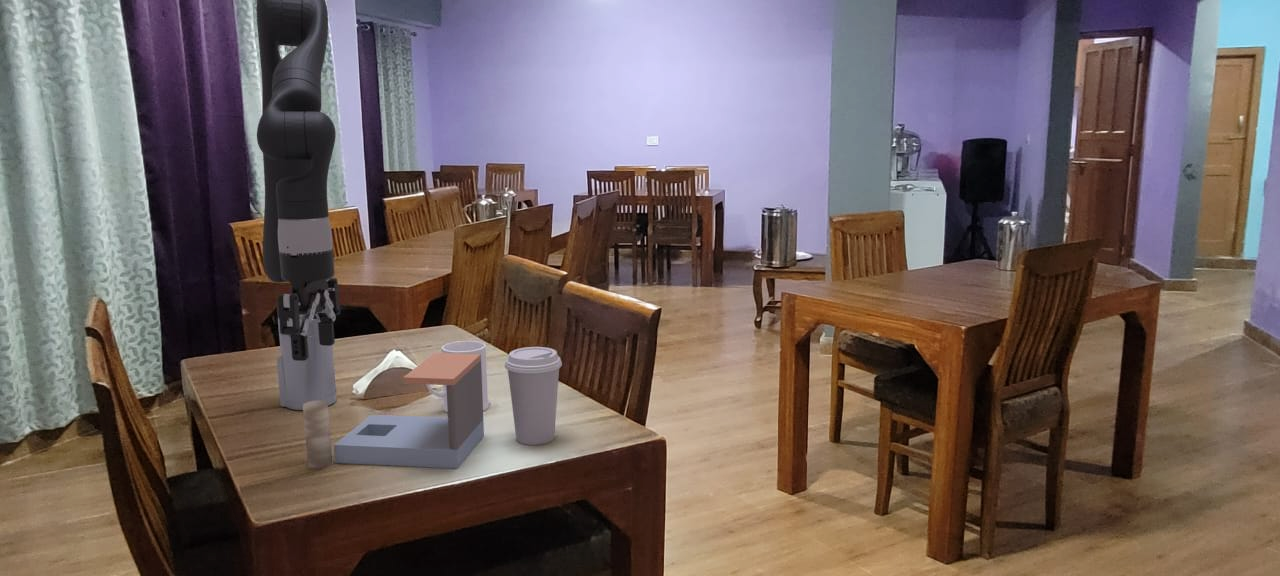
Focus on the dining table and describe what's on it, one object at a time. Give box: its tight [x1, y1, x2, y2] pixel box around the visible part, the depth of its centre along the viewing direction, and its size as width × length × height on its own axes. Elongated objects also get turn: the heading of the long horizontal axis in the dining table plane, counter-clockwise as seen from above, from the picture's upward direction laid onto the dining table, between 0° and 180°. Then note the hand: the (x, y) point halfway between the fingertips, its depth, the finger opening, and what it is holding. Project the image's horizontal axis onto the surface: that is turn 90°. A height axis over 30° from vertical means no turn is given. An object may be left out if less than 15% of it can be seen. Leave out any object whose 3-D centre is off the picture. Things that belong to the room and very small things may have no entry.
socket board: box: [333, 352, 485, 469], centre depth 138 cm, size 20×14×14 cm
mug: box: [425, 340, 490, 414], centre depth 157 cm, size 12×8×12 cm
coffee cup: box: [504, 346, 563, 446], centre depth 142 cm, size 10×10×15 cm
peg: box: [302, 400, 333, 470], centre depth 132 cm, size 4×4×10 cm
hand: (314, 352), depth 129 cm, fingers open, 8 cm apart
